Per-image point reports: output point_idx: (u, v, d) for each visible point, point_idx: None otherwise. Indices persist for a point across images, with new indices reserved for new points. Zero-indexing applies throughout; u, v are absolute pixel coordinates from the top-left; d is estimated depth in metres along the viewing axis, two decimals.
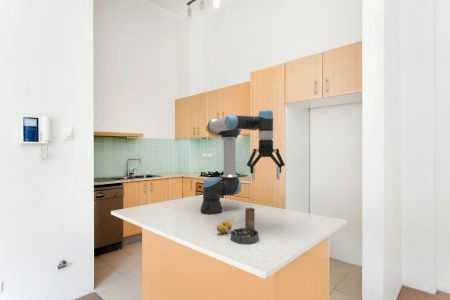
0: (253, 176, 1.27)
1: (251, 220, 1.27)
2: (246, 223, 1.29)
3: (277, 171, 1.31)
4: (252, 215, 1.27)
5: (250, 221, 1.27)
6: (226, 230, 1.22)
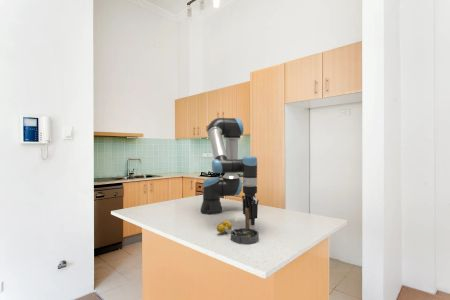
0: None
1: None
2: (246, 223, 1.29)
3: None
4: None
5: None
6: (226, 230, 1.22)
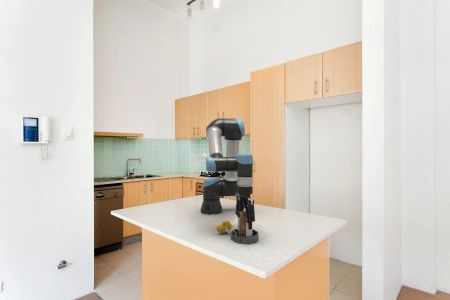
0: (238, 226, 1.21)
1: None
2: (241, 228, 1.17)
3: None
4: None
5: (244, 226, 1.15)
6: (226, 230, 1.22)
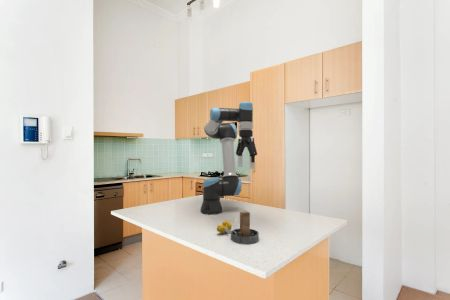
0: None
1: (246, 225, 1.16)
2: (241, 228, 1.17)
3: None
4: (247, 219, 1.16)
5: (244, 226, 1.15)
6: (226, 230, 1.22)
